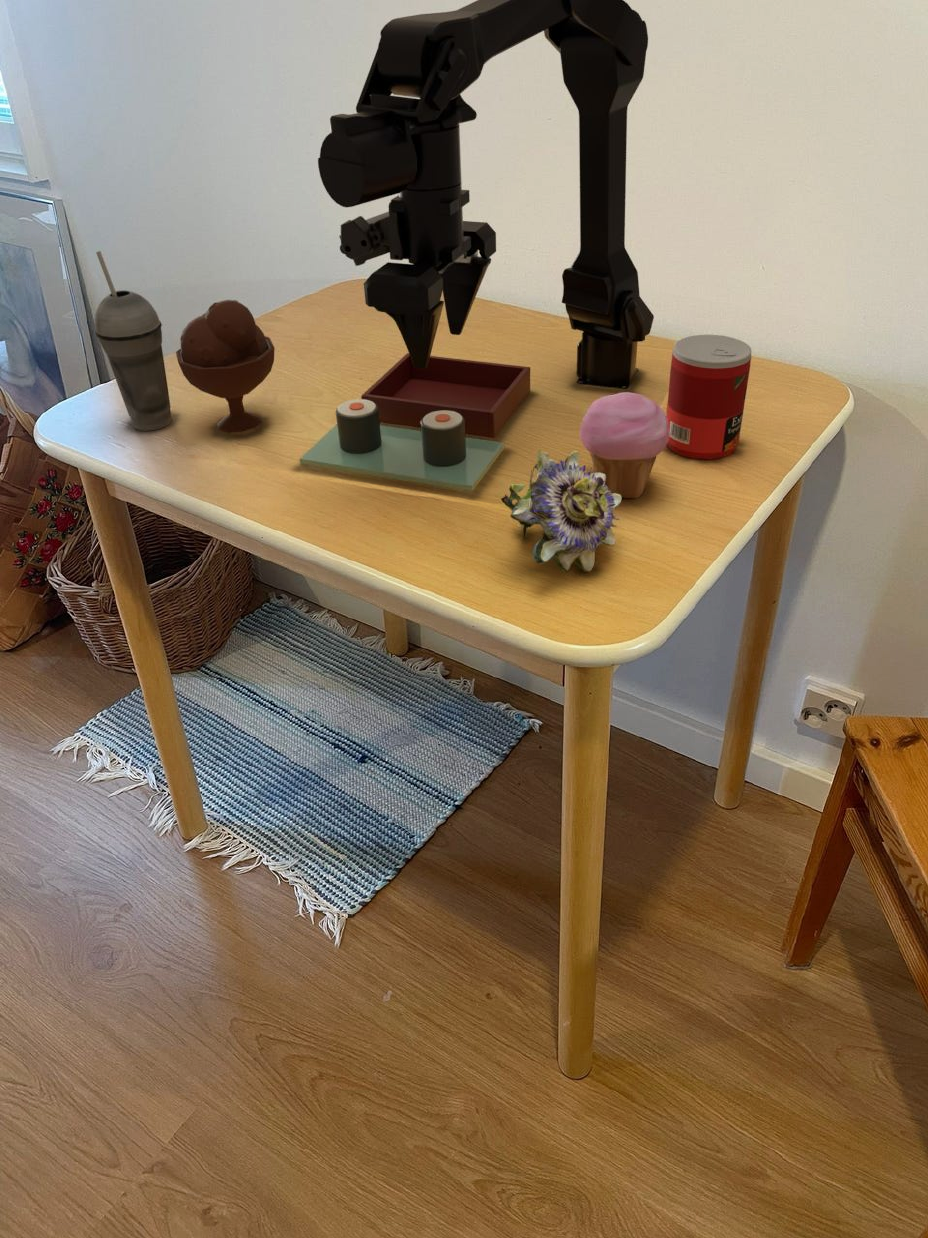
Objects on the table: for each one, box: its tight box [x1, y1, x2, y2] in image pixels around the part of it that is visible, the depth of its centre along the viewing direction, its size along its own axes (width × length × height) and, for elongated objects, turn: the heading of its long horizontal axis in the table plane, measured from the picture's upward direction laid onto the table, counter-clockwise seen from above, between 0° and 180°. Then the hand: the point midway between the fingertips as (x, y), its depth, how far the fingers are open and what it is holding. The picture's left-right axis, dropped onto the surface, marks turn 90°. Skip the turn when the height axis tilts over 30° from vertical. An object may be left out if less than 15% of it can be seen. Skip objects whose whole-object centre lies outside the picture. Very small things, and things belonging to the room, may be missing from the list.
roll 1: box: [335, 398, 382, 454], centre depth 104 cm, size 5×5×5 cm
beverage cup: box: [94, 250, 173, 432], centre depth 109 cm, size 7×7×20 cm
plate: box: [299, 423, 505, 492], centre depth 105 cm, size 20×10×1 cm, turn 69°
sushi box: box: [360, 352, 531, 439], centre depth 114 cm, size 16×13×4 cm
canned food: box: [665, 334, 752, 460], centre depth 102 cm, size 8×8×11 cm
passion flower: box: [500, 449, 623, 573], centre depth 88 cm, size 11×11×12 cm
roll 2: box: [420, 410, 466, 467], centre depth 101 cm, size 5×5×5 cm
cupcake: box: [579, 391, 670, 499], centre depth 95 cm, size 9×9×10 cm
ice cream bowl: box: [175, 299, 276, 433], centre depth 109 cm, size 11×11×15 cm
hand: (438, 350), depth 95 cm, fingers open, 9 cm apart
